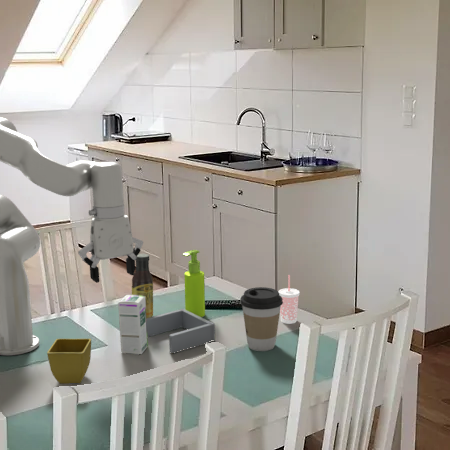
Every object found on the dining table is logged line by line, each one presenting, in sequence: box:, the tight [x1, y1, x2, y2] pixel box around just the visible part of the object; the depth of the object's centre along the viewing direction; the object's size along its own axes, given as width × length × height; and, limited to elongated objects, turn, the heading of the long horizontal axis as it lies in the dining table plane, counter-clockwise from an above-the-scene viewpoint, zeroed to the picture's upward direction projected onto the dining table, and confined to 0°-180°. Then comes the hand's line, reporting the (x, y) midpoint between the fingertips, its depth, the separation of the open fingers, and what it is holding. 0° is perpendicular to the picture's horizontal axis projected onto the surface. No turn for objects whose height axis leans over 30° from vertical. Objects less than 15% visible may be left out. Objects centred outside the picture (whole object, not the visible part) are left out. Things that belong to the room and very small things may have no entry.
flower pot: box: [46, 338, 92, 385], centre depth 175 cm, size 9×9×9 cm
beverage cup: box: [277, 274, 300, 325], centre depth 211 cm, size 6×6×14 cm
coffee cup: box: [239, 286, 283, 352], centre depth 193 cm, size 11×11×15 cm
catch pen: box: [147, 308, 216, 354], centre depth 200 cm, size 14×15×5 cm
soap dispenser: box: [182, 249, 206, 318], centre depth 215 cm, size 6×7×20 cm
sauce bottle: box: [131, 253, 154, 318], centre depth 212 cm, size 7×6×20 cm
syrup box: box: [117, 294, 149, 355], centre depth 192 cm, size 6×6×14 cm
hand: (113, 277), depth 185 cm, fingers open, 9 cm apart
